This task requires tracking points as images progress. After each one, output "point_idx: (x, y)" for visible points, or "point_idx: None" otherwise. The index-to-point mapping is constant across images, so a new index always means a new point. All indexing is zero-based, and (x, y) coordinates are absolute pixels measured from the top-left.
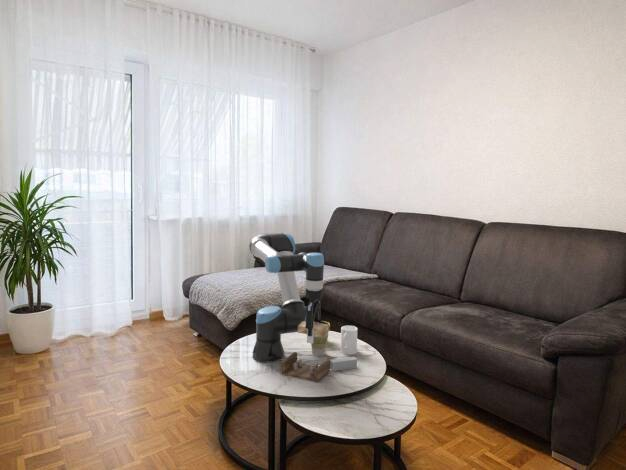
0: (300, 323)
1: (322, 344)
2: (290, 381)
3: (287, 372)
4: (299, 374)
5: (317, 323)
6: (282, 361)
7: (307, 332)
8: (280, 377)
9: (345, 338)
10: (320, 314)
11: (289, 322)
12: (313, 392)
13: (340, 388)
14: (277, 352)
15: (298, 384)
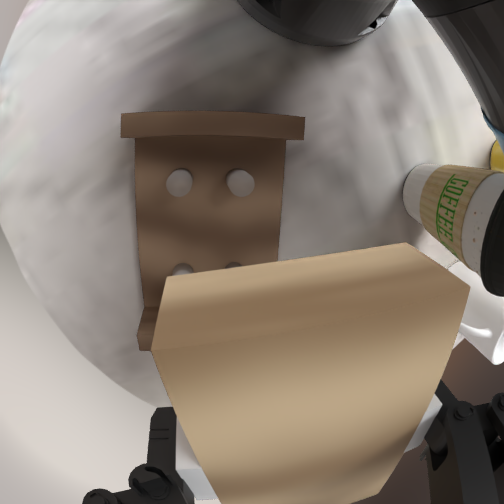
0: (344, 322)
1: (438, 239)
2: (89, 204)
3: (139, 153)
4: (149, 220)
5: (391, 455)
6: (126, 118)
7: (177, 422)
8: (101, 138)
9: (475, 320)
10: (501, 462)
11: (491, 25)
12: (72, 326)
13: (154, 387)
14: (293, 14)
15: (85, 250)
